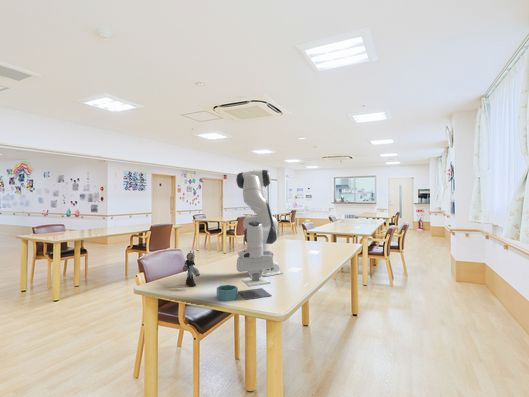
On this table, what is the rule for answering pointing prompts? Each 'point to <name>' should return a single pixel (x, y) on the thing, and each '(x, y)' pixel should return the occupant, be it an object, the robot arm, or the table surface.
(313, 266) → the table surface
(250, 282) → the cover sheet
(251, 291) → the mat
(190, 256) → the robot
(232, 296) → the bowl
